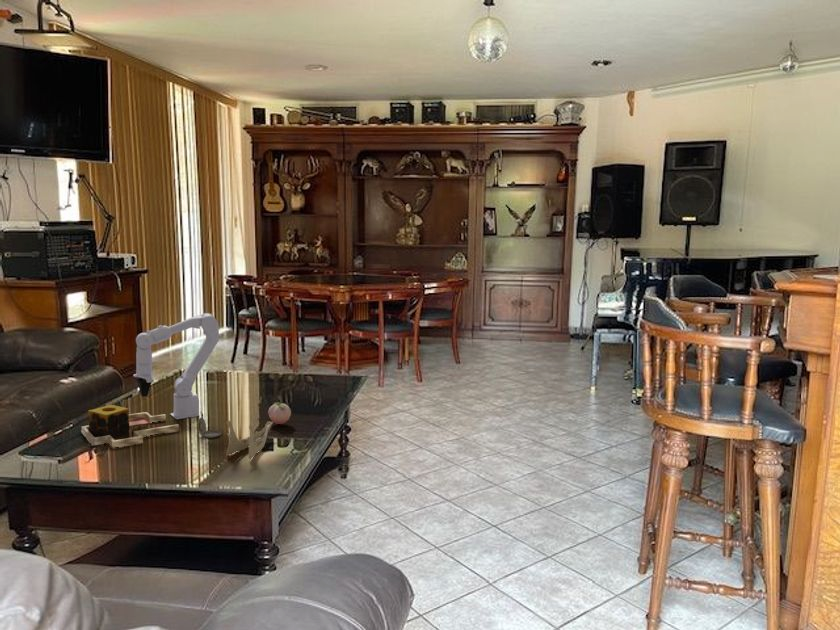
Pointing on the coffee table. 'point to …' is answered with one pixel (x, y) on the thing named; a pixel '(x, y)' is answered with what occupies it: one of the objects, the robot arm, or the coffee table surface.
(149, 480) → the coffee table surface
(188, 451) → the coffee table surface
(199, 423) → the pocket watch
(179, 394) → the robot arm
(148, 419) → the trap channel
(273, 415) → the decorative fruit
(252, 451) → the jawbone
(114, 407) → the candle
